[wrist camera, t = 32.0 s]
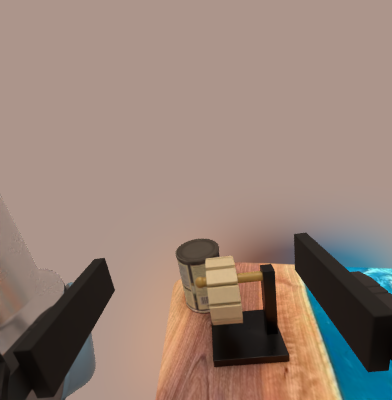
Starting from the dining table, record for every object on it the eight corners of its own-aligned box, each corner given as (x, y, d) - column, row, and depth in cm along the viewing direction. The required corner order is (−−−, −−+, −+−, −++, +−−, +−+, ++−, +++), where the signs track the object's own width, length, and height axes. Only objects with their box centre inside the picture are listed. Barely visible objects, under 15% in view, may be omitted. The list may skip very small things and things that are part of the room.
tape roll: (214, 340, 34) (205, 285, 31) (212, 292, 45) (205, 248, 42) (245, 338, 34) (238, 281, 31) (235, 290, 44) (230, 245, 41)
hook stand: (206, 367, 37) (192, 296, 32) (205, 320, 46) (194, 260, 42) (289, 361, 36) (286, 286, 31) (271, 314, 45) (267, 251, 41)
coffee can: (208, 278, 60) (201, 234, 56) (233, 297, 52) (227, 247, 48) (177, 297, 55) (167, 250, 51) (201, 321, 46) (191, 267, 42)
